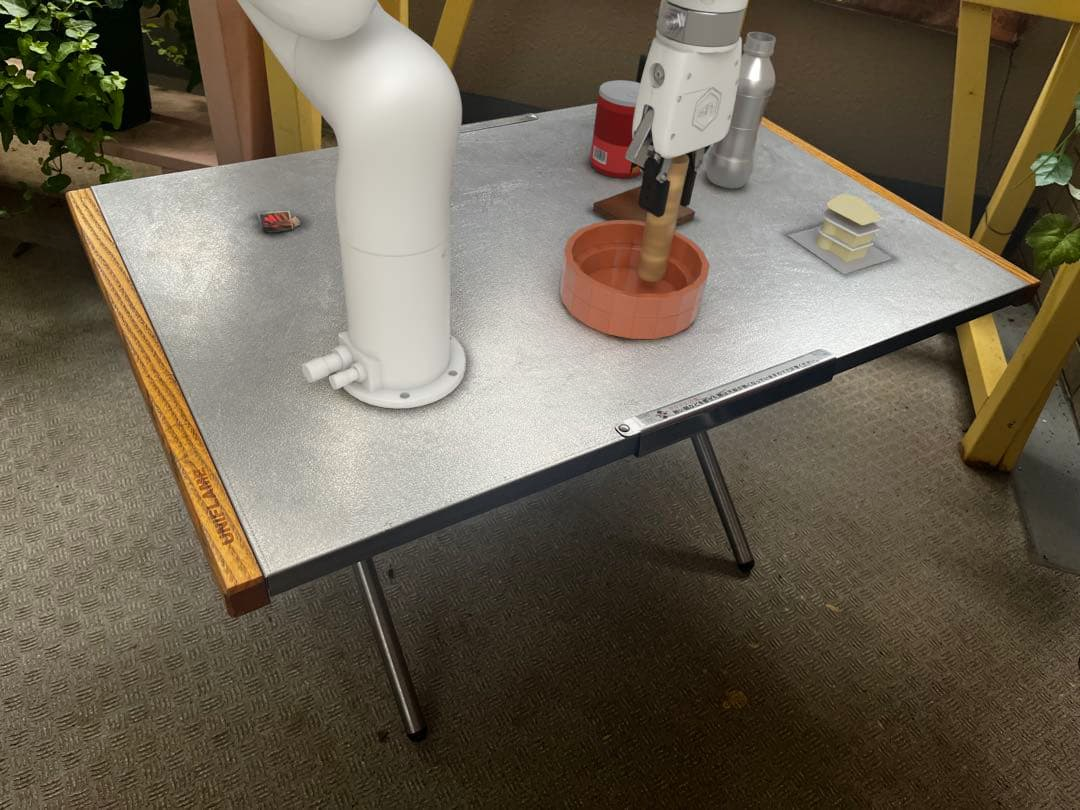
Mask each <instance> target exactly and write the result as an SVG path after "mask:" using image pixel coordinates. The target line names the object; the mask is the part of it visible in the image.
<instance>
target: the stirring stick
mask: <svg viewBox="0 0 1080 810" xmlns="http://www.w3.org/2000/svg"><path fill="white" fill-rule="evenodd" d="M661 157H662V156H660V155H658V154H657V158H656V161H657V162H658V164H659V163H660V159H661ZM688 164H689V157H688V156H687V155H686V154H684V155H681V156H678V157H675V158H672V162H671V166H670V169H669V173H668V177H667V180H668V181H670V187H669V192H668V197H667V202H666V207H665V212H664V215H663V216H661V217H656V216H654V215H653V214H651V213H649V212H647V217H646V223H645V228H644V234H643V239H642V245H641V250H640V255H639V261H638V266H637V275H638V276H639V277H640V278H641V279H643V280H646V281H650V282H657V281H661V280H662V279H663V278H664V277H665V273H666V268H667V263H668V259H669V254H670V249H671V244H672V240H673V235H674V231H676V230H675V229H676V227H677V226H676V221H677V216H678V211H679V207H680V202H681V197H682V193H683V188H684V183H685V178H686V174H687V169H688ZM675 226H676V227H675Z"/></svg>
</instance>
